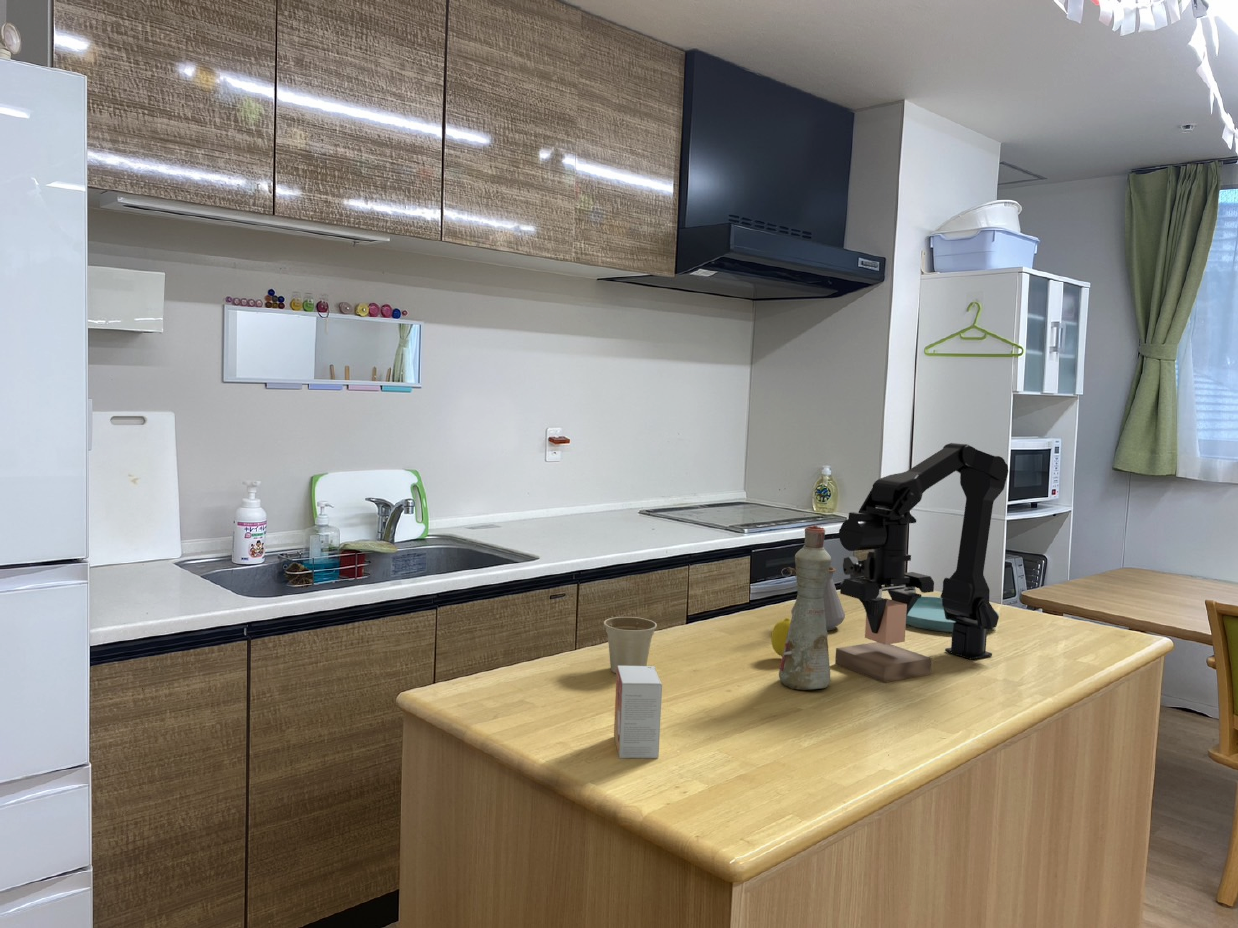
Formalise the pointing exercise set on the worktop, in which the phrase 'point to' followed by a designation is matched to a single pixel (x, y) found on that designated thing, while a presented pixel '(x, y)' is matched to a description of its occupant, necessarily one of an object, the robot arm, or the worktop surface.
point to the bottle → (808, 619)
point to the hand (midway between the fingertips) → (885, 631)
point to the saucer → (929, 615)
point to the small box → (637, 712)
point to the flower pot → (629, 641)
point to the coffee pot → (828, 601)
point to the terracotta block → (890, 624)
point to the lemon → (780, 635)
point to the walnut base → (883, 661)
